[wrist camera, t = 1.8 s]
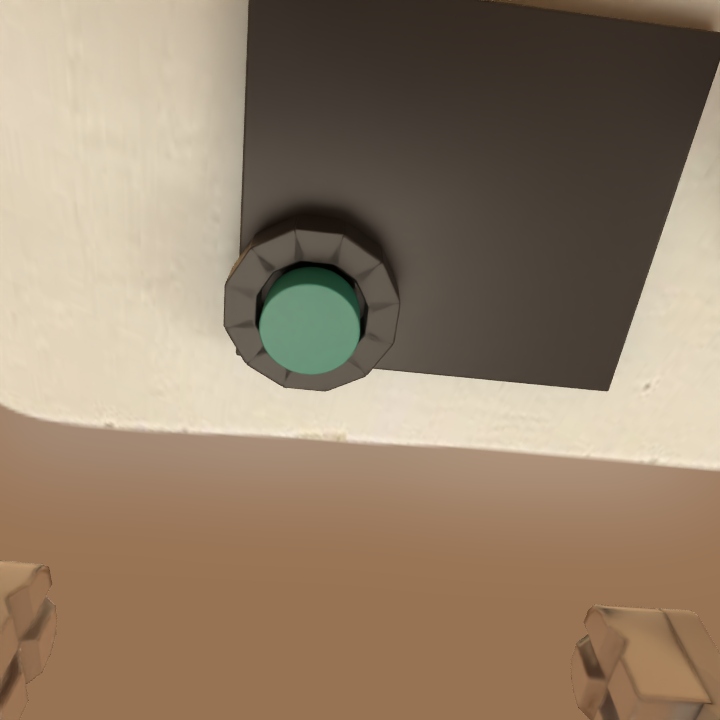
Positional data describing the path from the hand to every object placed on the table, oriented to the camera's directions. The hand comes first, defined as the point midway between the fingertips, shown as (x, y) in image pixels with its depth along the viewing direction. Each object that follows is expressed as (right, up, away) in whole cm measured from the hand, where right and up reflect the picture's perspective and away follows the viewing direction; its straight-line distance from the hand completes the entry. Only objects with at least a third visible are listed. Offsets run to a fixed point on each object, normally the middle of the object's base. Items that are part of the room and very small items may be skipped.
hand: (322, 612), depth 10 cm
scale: (+4, +10, +16) cm, 19 cm away
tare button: (-1, +6, +15) cm, 16 cm away
